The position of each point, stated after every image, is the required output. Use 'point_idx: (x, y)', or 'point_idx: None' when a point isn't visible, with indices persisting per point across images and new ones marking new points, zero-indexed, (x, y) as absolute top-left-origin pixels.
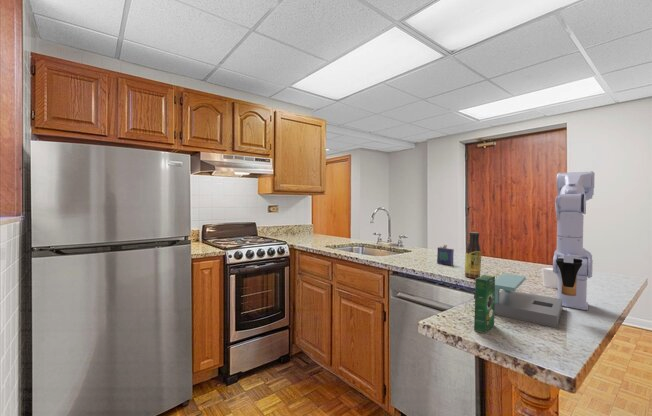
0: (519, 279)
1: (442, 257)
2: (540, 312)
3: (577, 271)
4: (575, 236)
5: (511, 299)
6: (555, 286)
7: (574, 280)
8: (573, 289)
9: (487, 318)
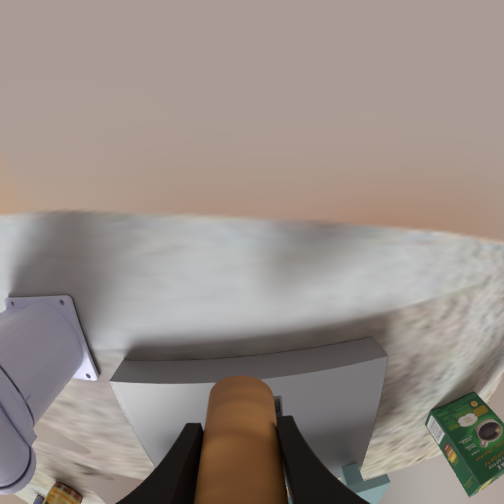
0: None
1: None
2: (377, 393)
3: (350, 490)
4: None
5: None
6: None
7: (307, 445)
8: (267, 406)
9: (480, 408)
